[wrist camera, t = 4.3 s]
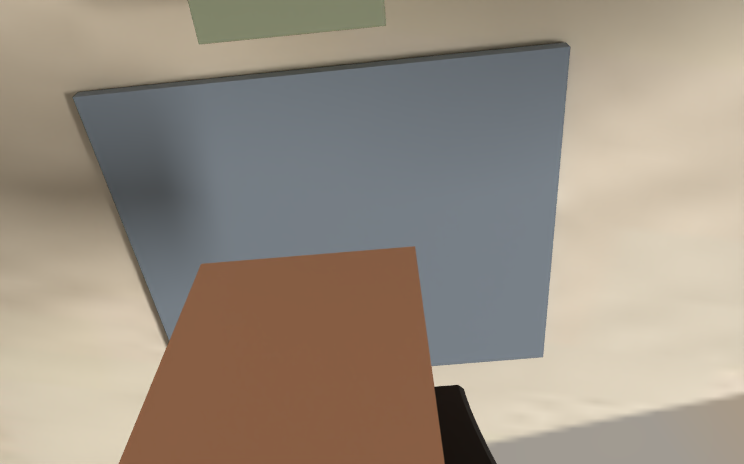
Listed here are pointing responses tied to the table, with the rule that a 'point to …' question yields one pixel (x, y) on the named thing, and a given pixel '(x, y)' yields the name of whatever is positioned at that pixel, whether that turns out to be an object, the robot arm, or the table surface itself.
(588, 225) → the table surface
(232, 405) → the terracotta block
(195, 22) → the olive cube
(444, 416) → the robot arm
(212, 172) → the slate mat
